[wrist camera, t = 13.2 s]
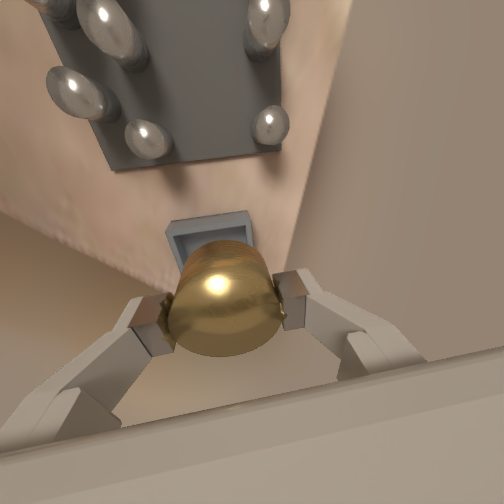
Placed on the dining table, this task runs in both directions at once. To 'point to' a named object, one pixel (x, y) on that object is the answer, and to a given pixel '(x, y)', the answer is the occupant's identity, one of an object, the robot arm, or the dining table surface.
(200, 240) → the tray
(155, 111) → the mat
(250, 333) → the knob
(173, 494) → the robot arm
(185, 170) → the dining table surface
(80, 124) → the dining table surface
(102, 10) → the spacers
